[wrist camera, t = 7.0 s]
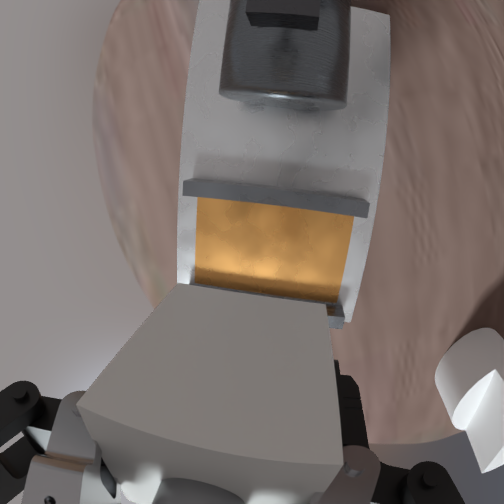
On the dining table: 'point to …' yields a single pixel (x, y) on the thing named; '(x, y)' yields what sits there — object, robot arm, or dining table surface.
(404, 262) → the dining table surface
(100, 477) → the robot arm
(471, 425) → the white appliance knob
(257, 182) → the motor mount
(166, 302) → the cube with round knob
